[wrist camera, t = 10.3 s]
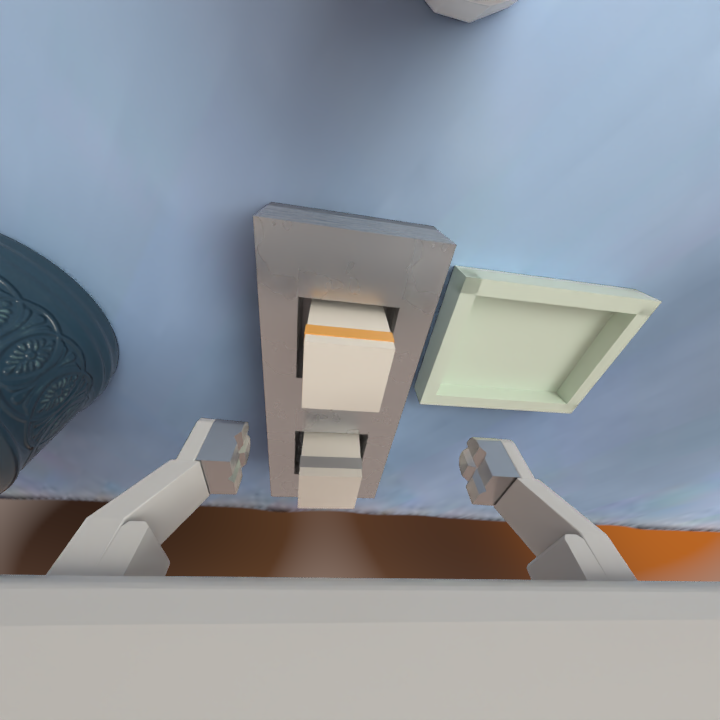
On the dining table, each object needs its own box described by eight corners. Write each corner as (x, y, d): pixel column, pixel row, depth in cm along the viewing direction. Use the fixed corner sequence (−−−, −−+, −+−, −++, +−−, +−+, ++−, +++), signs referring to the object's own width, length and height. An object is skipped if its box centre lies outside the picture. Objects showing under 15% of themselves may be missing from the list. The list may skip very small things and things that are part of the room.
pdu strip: (433, 226, 16) (456, 244, 13) (370, 459, 29) (374, 498, 26) (271, 202, 15) (253, 215, 12) (278, 456, 28) (271, 496, 25)
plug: (380, 293, 18) (397, 348, 13) (369, 349, 20) (379, 413, 15) (313, 286, 17) (302, 339, 12) (310, 344, 19) (300, 408, 15)
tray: (635, 289, 20) (661, 301, 18) (556, 396, 25) (571, 413, 24) (454, 265, 18) (466, 276, 16) (414, 386, 24) (419, 403, 22)
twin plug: (357, 409, 23) (362, 477, 18) (351, 441, 26) (354, 509, 21) (306, 406, 23) (298, 475, 18) (304, 439, 25) (296, 508, 20)
